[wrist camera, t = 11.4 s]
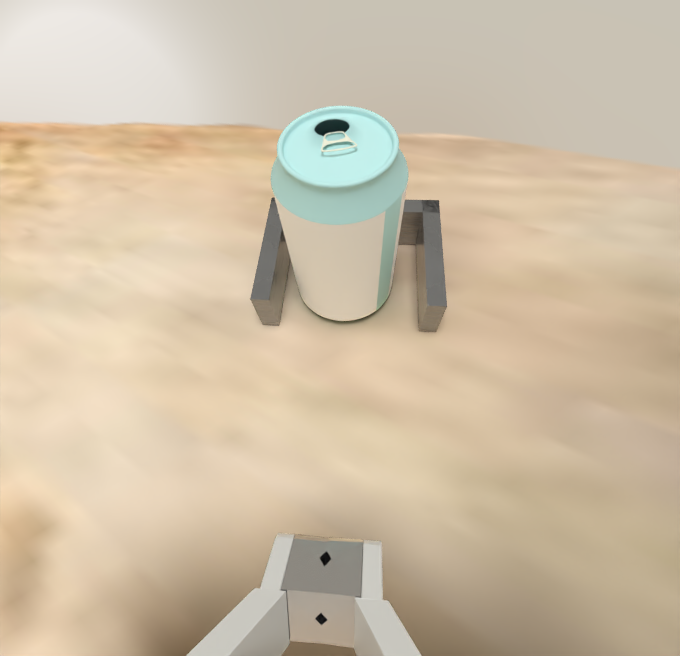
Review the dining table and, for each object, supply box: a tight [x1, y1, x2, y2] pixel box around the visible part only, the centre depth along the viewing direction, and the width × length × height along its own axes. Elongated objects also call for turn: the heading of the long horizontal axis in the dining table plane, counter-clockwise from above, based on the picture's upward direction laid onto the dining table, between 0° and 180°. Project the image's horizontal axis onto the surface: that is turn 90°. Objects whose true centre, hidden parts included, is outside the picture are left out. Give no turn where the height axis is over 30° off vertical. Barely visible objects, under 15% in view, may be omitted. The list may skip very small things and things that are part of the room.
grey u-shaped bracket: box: [251, 198, 447, 332], centre depth 26 cm, size 9×12×4 cm
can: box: [271, 106, 408, 321], centre depth 22 cm, size 7×7×12 cm
